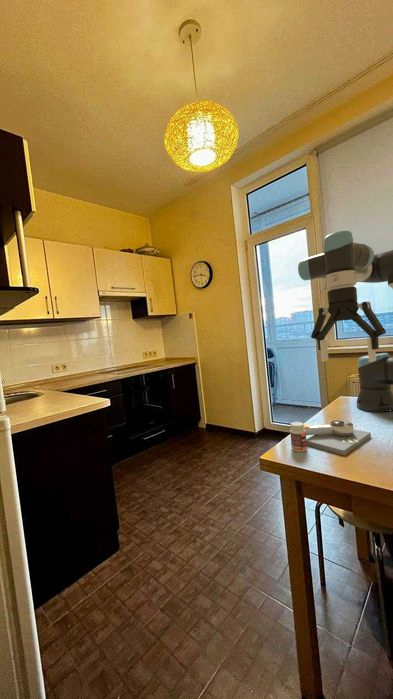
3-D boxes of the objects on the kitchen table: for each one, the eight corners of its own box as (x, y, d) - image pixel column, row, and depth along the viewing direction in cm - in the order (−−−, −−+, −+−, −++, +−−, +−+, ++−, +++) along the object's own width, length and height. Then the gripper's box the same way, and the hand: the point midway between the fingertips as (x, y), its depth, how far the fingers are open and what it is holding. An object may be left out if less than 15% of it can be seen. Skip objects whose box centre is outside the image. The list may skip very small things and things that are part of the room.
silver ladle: (349, 428, 101) (348, 418, 101) (357, 436, 94) (356, 424, 94) (300, 431, 103) (299, 421, 103) (305, 438, 97) (304, 427, 96)
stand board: (332, 429, 107) (332, 424, 107) (372, 437, 96) (372, 432, 96) (305, 444, 96) (304, 439, 96) (346, 455, 85) (345, 450, 85)
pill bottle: (305, 453, 90) (303, 426, 90) (290, 451, 93) (287, 425, 92) (308, 447, 94) (306, 421, 94) (293, 445, 97) (291, 420, 96)
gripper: (295, 295, 91) (301, 362, 92) (384, 278, 71) (390, 364, 72) (309, 295, 95) (314, 358, 97) (396, 279, 75) (401, 359, 77)
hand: (347, 361), depth 84 cm, fingers open, 13 cm apart
